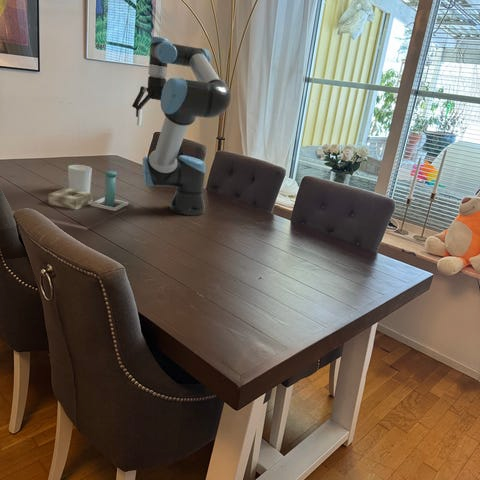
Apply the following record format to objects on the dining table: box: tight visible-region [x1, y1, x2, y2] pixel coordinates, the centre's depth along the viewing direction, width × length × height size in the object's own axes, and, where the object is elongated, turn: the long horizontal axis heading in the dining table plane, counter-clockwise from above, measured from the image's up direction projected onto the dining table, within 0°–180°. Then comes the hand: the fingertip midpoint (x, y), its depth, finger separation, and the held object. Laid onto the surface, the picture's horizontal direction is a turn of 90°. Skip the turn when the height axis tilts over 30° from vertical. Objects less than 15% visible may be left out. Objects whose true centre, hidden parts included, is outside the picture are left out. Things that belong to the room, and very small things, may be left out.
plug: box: [103, 170, 118, 207], centre depth 182 cm, size 5×5×14 cm
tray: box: [90, 196, 129, 212], centre depth 185 cm, size 11×11×2 cm
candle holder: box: [67, 164, 93, 193], centre depth 194 cm, size 10×10×12 cm
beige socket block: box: [47, 187, 94, 211], centre depth 179 cm, size 12×12×5 cm
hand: (153, 127), depth 197 cm, fingers open, 13 cm apart
